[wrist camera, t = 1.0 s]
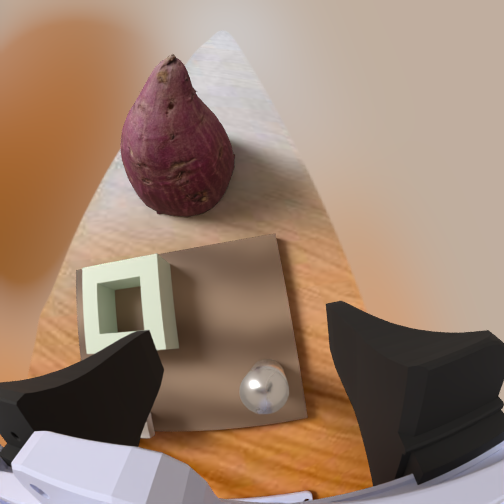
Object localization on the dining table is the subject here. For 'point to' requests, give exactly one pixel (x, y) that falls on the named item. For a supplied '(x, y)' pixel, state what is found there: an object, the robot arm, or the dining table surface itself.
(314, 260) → the dining table surface
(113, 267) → the square hollow frame
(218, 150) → the vegetable
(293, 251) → the dining table surface
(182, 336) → the board
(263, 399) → the pin
